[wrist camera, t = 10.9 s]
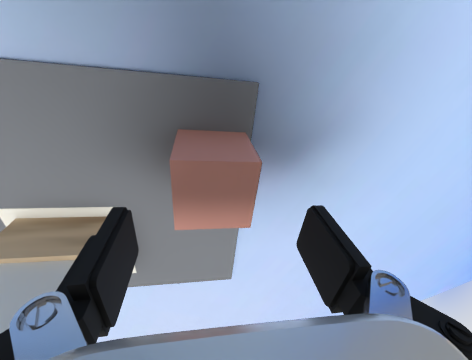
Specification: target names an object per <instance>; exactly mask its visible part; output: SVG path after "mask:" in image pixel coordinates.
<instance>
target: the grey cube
mask: <svg viewBox="0 0 472 360" xmlns="http://www.w3.org/2000/svg"><path fill="white" fill-rule="evenodd" d="M74 261H75V260H61V261H41V262H21V263H1V264H0V334H1V333H2V332H4V331H5V330H7V329H9V328H10V322H11V320H12V318H13V316H14V315H15V314H16V312H17V311H18V310H19V309H20V308H21V307H22V306H23V305H24V304H26V303H27V302H28V301H30V300H31V299H33V298H35V297H37V296H39V295H41V294H43V293H47V292H55V291H56V290H57V288H58V287H59V285H60V283H61V282H62V280H63V279H64V277H65V275H66V274H67V272H68V271H69V269H70V267H71V266H72V264H73V263H74Z"/></svg>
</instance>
